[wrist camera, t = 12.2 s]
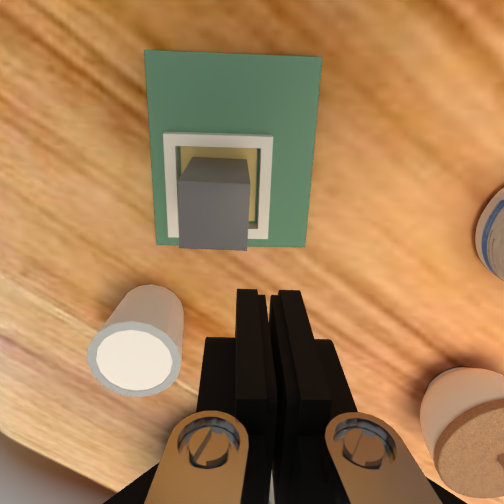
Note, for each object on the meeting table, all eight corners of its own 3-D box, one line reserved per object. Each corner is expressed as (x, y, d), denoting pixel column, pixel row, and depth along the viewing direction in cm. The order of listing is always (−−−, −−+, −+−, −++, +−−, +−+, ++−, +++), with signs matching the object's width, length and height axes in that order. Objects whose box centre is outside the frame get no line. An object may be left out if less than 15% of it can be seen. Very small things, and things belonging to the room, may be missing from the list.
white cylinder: (171, 267, 34) (157, 309, 28) (202, 330, 37) (195, 382, 30) (99, 292, 35) (68, 339, 28) (134, 353, 37) (113, 408, 31)
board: (147, 51, 28) (139, 48, 25) (319, 58, 28) (326, 55, 26) (159, 239, 33) (153, 251, 31) (302, 242, 34) (307, 254, 31)
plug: (192, 156, 29) (178, 180, 22) (246, 159, 30) (250, 184, 22) (192, 218, 31) (179, 260, 24) (243, 220, 31) (246, 262, 24)
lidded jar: (530, 374, 40) (611, 453, 32) (458, 443, 44) (513, 532, 35) (451, 330, 38) (515, 403, 29) (381, 407, 41) (420, 493, 32)
